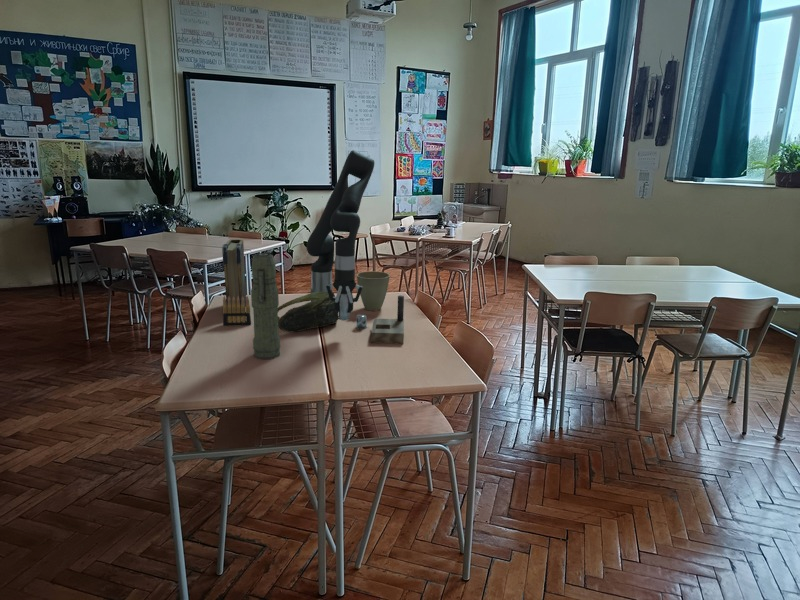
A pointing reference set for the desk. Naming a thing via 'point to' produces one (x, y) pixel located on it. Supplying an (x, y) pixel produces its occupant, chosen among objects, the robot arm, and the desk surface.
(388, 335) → the hole board
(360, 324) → the short pin
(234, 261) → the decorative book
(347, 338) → the desk surface
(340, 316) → the tall pin
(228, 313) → the ammunition clip
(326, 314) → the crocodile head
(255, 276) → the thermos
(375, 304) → the plant pot
